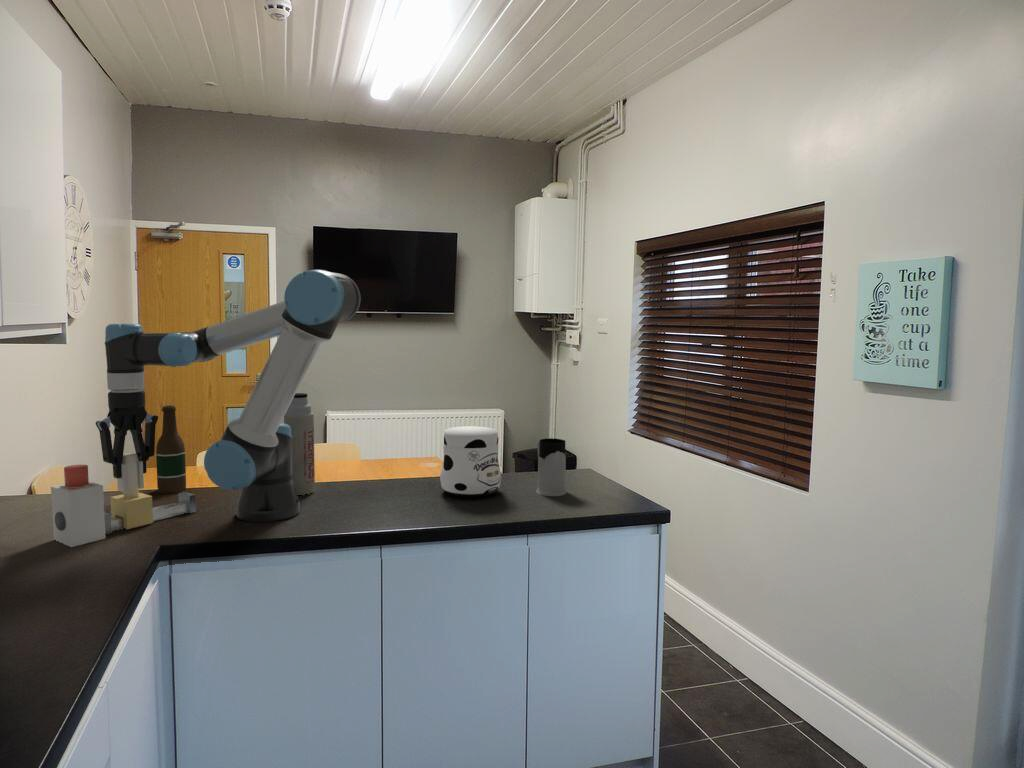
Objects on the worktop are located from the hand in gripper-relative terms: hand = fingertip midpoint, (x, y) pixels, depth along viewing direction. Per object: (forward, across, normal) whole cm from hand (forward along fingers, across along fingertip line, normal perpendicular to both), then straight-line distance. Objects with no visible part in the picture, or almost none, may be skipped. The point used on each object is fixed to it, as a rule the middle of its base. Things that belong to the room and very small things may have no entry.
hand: (130, 489), depth 160 cm
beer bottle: (+9, -22, -22) cm, 33 cm away
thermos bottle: (+9, -42, +8) cm, 44 cm away
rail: (+9, -4, 0) cm, 9 cm away
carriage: (+9, 0, 0) cm, 9 cm away
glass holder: (+9, -86, +63) cm, 107 cm away
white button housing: (+9, +12, +1) cm, 15 cm away
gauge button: (-3, +12, +1) cm, 13 cm away
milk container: (+9, -70, +47) cm, 85 cm away
